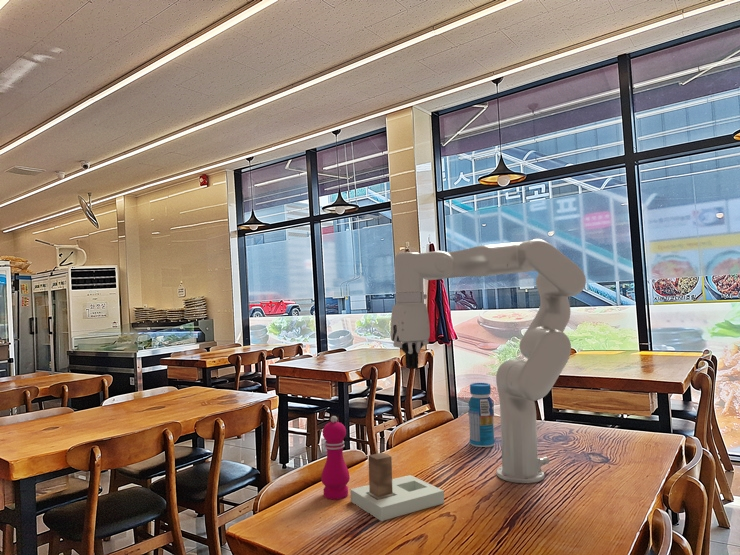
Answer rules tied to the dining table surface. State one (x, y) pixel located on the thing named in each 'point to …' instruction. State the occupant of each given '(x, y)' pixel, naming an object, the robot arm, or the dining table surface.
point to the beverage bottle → (481, 415)
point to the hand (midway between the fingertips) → (412, 368)
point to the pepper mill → (335, 461)
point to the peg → (380, 476)
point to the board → (399, 498)
